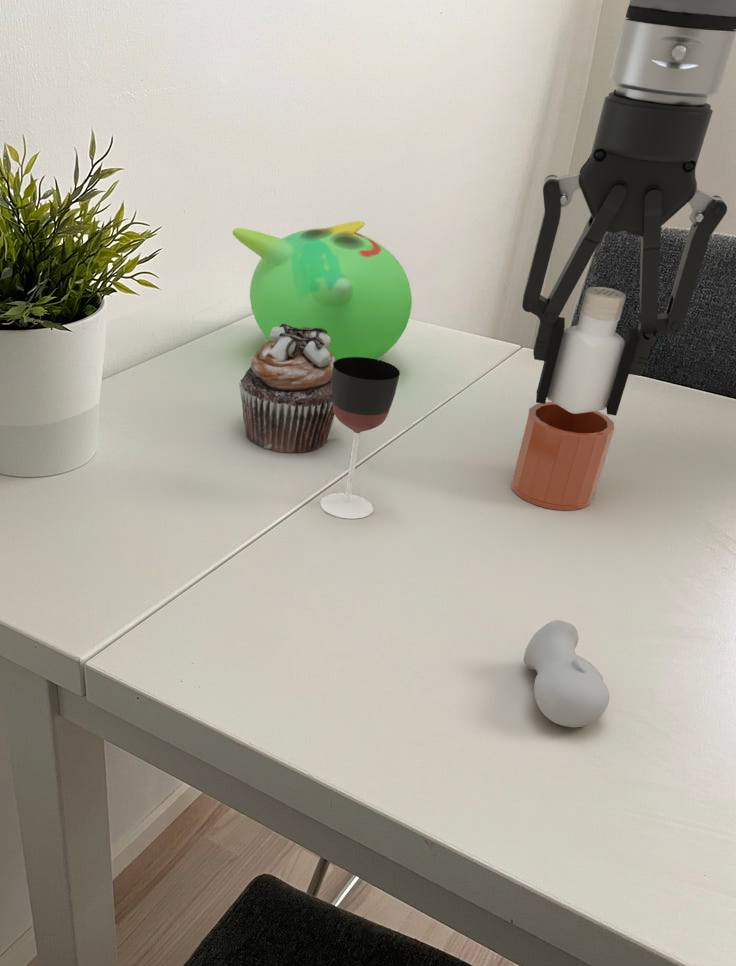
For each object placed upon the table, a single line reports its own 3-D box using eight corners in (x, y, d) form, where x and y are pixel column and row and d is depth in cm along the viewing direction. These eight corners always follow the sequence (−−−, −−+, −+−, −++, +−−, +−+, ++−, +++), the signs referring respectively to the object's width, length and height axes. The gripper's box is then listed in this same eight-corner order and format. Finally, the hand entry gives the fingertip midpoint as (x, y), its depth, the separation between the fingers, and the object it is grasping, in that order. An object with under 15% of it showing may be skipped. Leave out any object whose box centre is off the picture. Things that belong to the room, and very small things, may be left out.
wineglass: (324, 487, 87) (342, 352, 80) (383, 500, 86) (405, 365, 79) (308, 510, 83) (325, 371, 76) (369, 525, 82) (392, 384, 75)
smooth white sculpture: (594, 756, 62) (522, 727, 61) (575, 676, 69) (509, 650, 68) (635, 709, 60) (560, 678, 59) (612, 631, 66) (543, 602, 65)
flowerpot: (591, 481, 92) (612, 409, 88) (592, 516, 86) (616, 441, 82) (512, 467, 93) (530, 396, 89) (509, 501, 87) (527, 426, 83)
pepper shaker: (577, 394, 87) (608, 283, 82) (608, 412, 84) (642, 298, 79) (541, 399, 86) (570, 286, 80) (572, 417, 83) (604, 301, 77)
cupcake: (232, 413, 98) (239, 311, 93) (328, 416, 100) (341, 316, 94) (239, 455, 91) (247, 347, 85) (344, 458, 92) (359, 352, 86)
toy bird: (427, 368, 113) (452, 232, 104) (337, 404, 102) (356, 256, 94) (304, 325, 122) (318, 197, 114) (209, 354, 111) (217, 215, 103)
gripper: (531, 85, 70) (465, 401, 83) (804, 117, 67) (690, 438, 80) (533, 75, 76) (472, 371, 89) (785, 103, 73) (682, 405, 86)
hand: (575, 402), depth 85 cm, fingers closed on pepper shaker, 5 cm apart
